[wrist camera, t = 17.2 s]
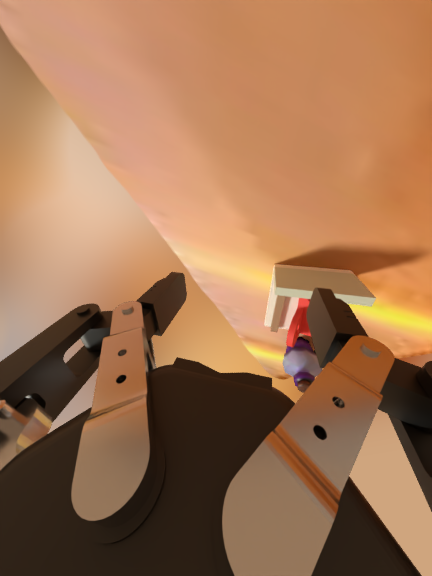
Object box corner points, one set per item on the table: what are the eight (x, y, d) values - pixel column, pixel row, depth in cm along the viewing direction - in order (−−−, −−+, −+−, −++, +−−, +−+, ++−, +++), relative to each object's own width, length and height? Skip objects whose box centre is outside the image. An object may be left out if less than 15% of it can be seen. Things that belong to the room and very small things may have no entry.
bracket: (317, 334, 39) (309, 361, 34) (295, 328, 42) (285, 352, 36) (327, 288, 33) (320, 312, 28) (301, 284, 36) (290, 305, 30)
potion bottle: (323, 349, 45) (338, 398, 35) (292, 359, 49) (297, 404, 39) (305, 327, 43) (316, 372, 33) (274, 339, 47) (275, 382, 37)
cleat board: (351, 270, 33) (376, 298, 26) (325, 331, 42) (338, 366, 34) (274, 263, 36) (276, 287, 29) (264, 321, 45) (263, 351, 37)
